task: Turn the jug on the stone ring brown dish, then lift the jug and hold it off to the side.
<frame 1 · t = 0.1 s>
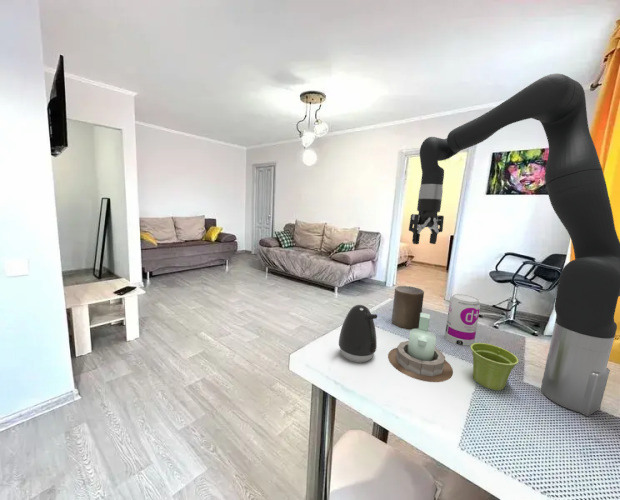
hand: (424, 243, 96), 29 cm above the table, tool pointing down, fingers open, 8 cm apart
dark rounded figure: (356, 358, 74), on the table
plant pot: (487, 386, 65), on the table
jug: (419, 362, 71), point 1 cm above the table, touching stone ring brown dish
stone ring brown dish: (418, 366, 71), on the table
pillar candle: (404, 326, 95), on the table
supplement can: (458, 343, 86), on the table
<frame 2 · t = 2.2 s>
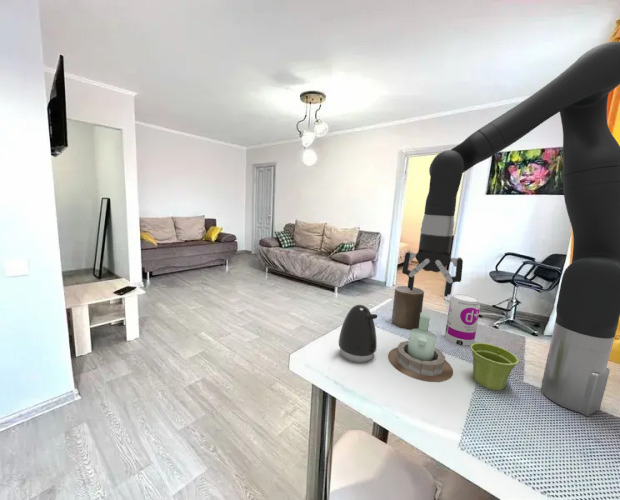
hand: (428, 292, 72), 19 cm above the table, tool pointing down, fingers open, 8 cm apart
nothing on the table moved.
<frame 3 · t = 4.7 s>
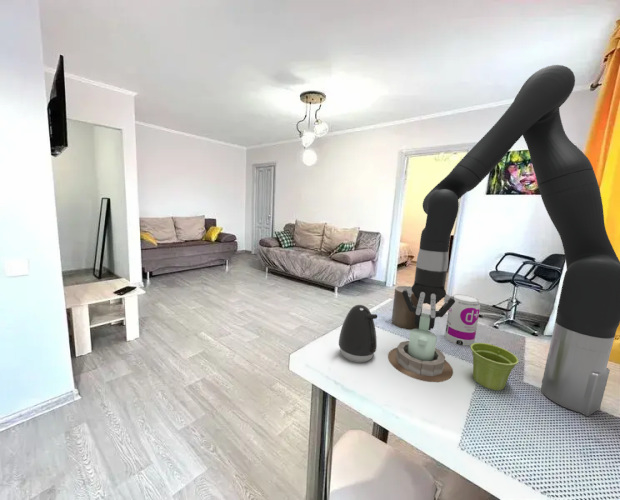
hand: (423, 327, 74), 9 cm above the table, tool pointing down, fingers closed on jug
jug: (419, 362, 71), point 1 cm above the table, touching gripper
everything else where it was.
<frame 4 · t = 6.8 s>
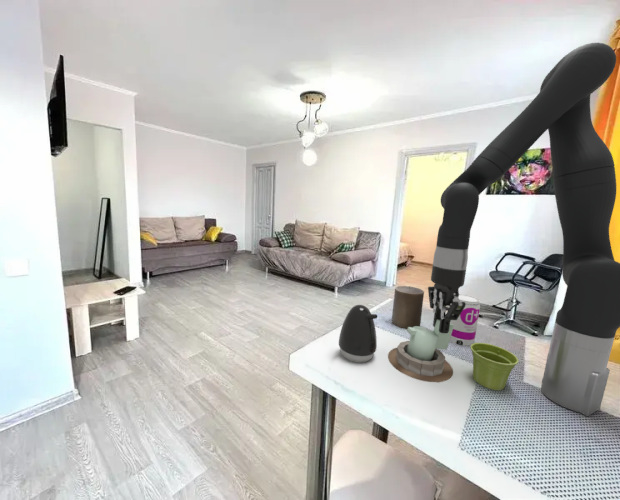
hand: (440, 329, 70), 11 cm above the table, tool pointing down, fingers closed on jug, 2 cm apart
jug: (417, 359, 71), point 2 cm above the table, tilted 8°, touching gripper
everything else where it was.
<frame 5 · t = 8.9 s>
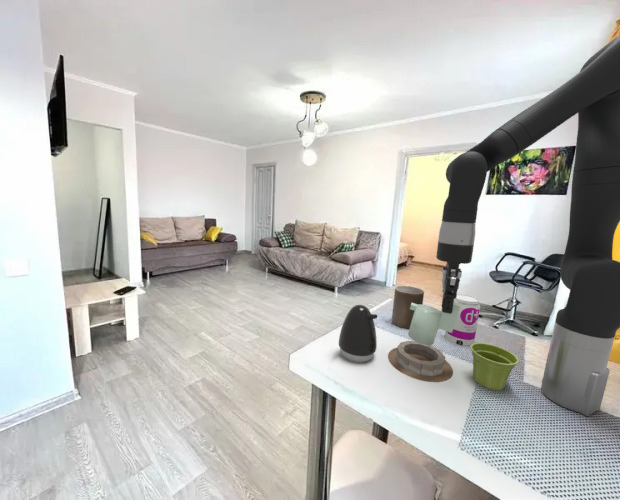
hand: (446, 310, 66), 17 cm above the table, tool pointing down, fingers closed on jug, 2 cm apart
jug: (420, 337, 70), point 8 cm above the table, tilted 7°, touching gripper
everything else where it was.
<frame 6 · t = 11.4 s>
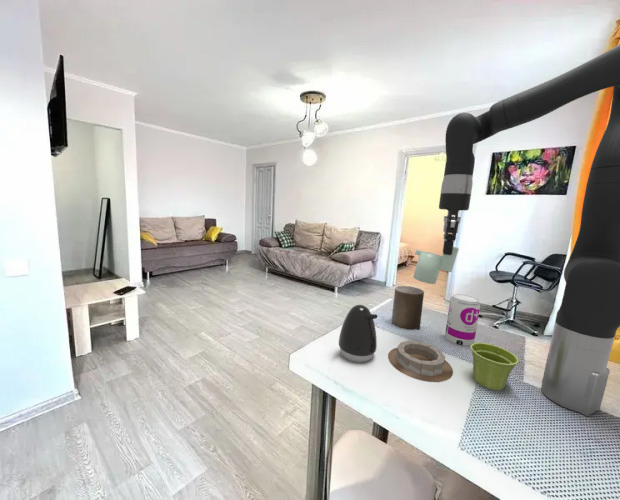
hand: (447, 253, 77), 29 cm above the table, tool pointing down, fingers closed on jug, 2 cm apart
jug: (424, 279, 81), point 20 cm above the table, tilted 8°, touching gripper
everything else where it was.
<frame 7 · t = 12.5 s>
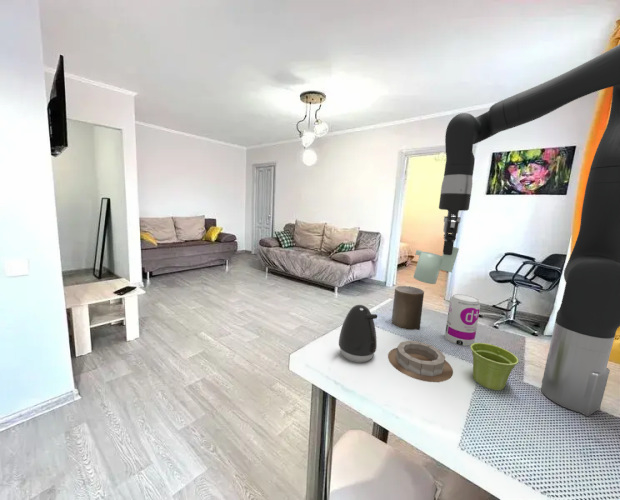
hand: (447, 253, 77), 29 cm above the table, tool pointing down, fingers closed on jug, 2 cm apart
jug: (424, 279, 81), point 20 cm above the table, tilted 8°, touching gripper
everything else where it was.
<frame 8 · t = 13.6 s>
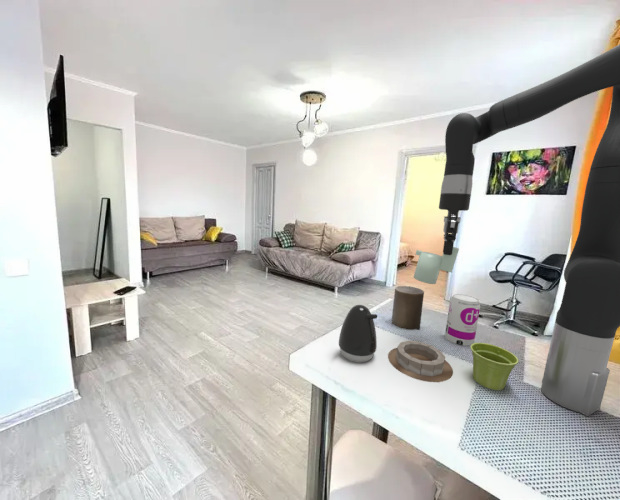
hand: (447, 253, 77), 29 cm above the table, tool pointing down, fingers closed on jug, 2 cm apart
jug: (424, 279, 81), point 20 cm above the table, tilted 8°, touching gripper
everything else where it was.
at the end: the gripper is holding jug; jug point 20.3 cm above the table; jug moved 23.6 cm from its start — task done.
